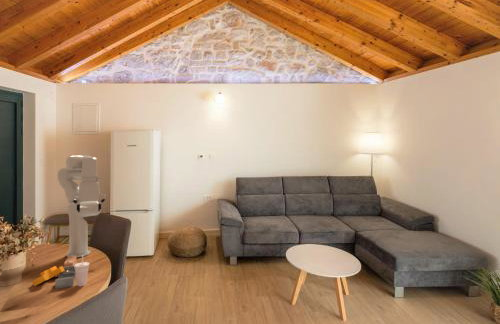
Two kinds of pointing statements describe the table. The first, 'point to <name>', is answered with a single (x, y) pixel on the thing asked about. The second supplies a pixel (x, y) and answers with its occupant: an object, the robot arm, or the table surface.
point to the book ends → (65, 278)
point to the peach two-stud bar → (70, 261)
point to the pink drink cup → (81, 272)
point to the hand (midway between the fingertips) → (89, 211)
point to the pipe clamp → (48, 274)
